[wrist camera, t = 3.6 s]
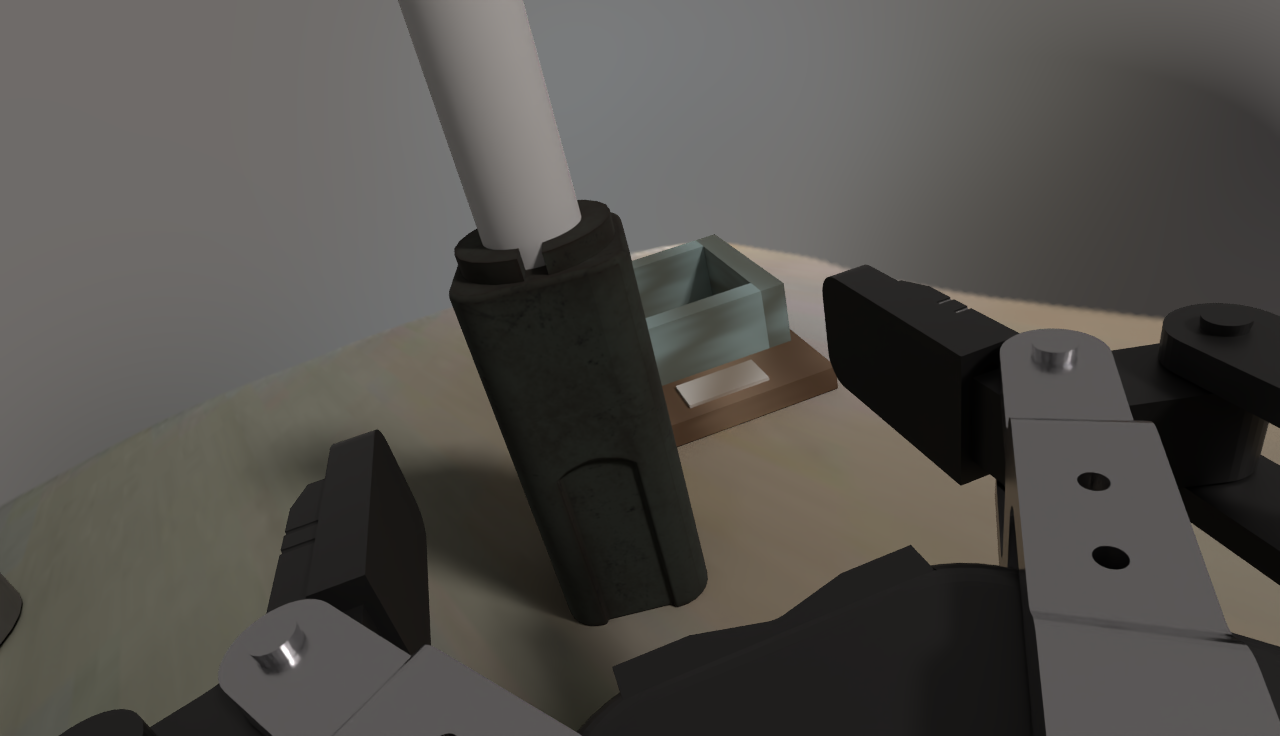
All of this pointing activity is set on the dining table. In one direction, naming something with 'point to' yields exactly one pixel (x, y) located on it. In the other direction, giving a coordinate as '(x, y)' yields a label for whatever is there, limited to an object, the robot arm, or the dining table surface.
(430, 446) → the dining table surface
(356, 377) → the dining table surface
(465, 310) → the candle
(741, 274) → the socket board
